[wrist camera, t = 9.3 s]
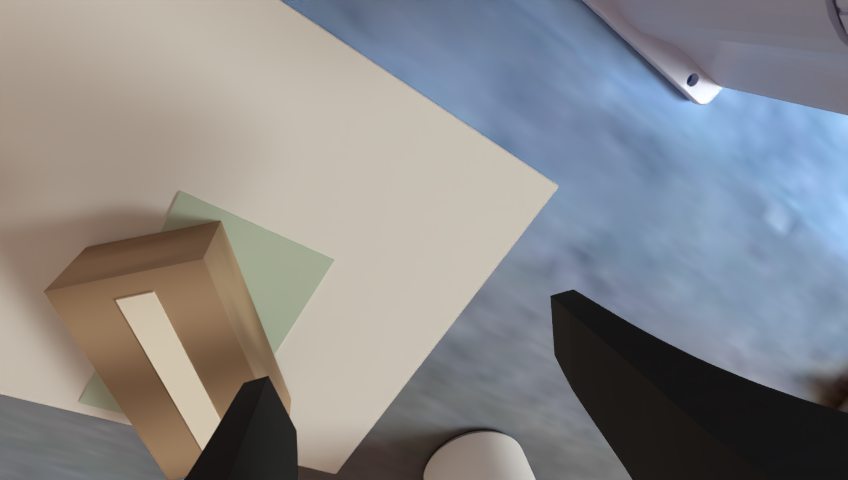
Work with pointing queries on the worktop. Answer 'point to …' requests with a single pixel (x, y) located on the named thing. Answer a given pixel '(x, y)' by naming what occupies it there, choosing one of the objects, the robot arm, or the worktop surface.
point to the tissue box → (168, 334)
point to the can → (479, 458)
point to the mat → (245, 193)
